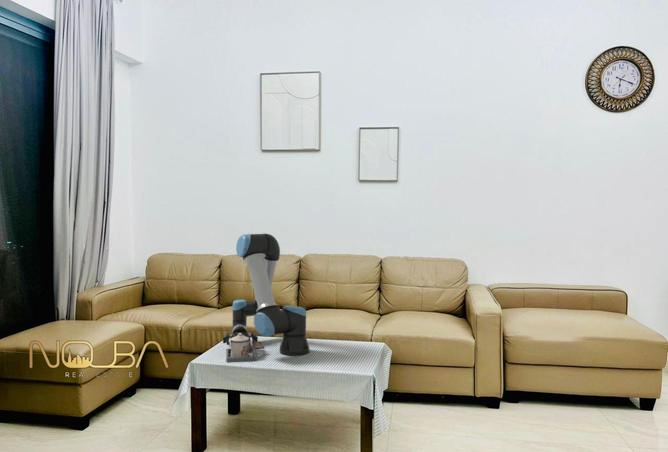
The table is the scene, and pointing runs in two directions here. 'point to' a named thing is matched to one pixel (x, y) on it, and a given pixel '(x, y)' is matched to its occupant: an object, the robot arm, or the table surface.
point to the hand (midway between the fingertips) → (240, 343)
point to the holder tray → (235, 359)
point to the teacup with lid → (240, 346)
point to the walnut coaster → (256, 345)
